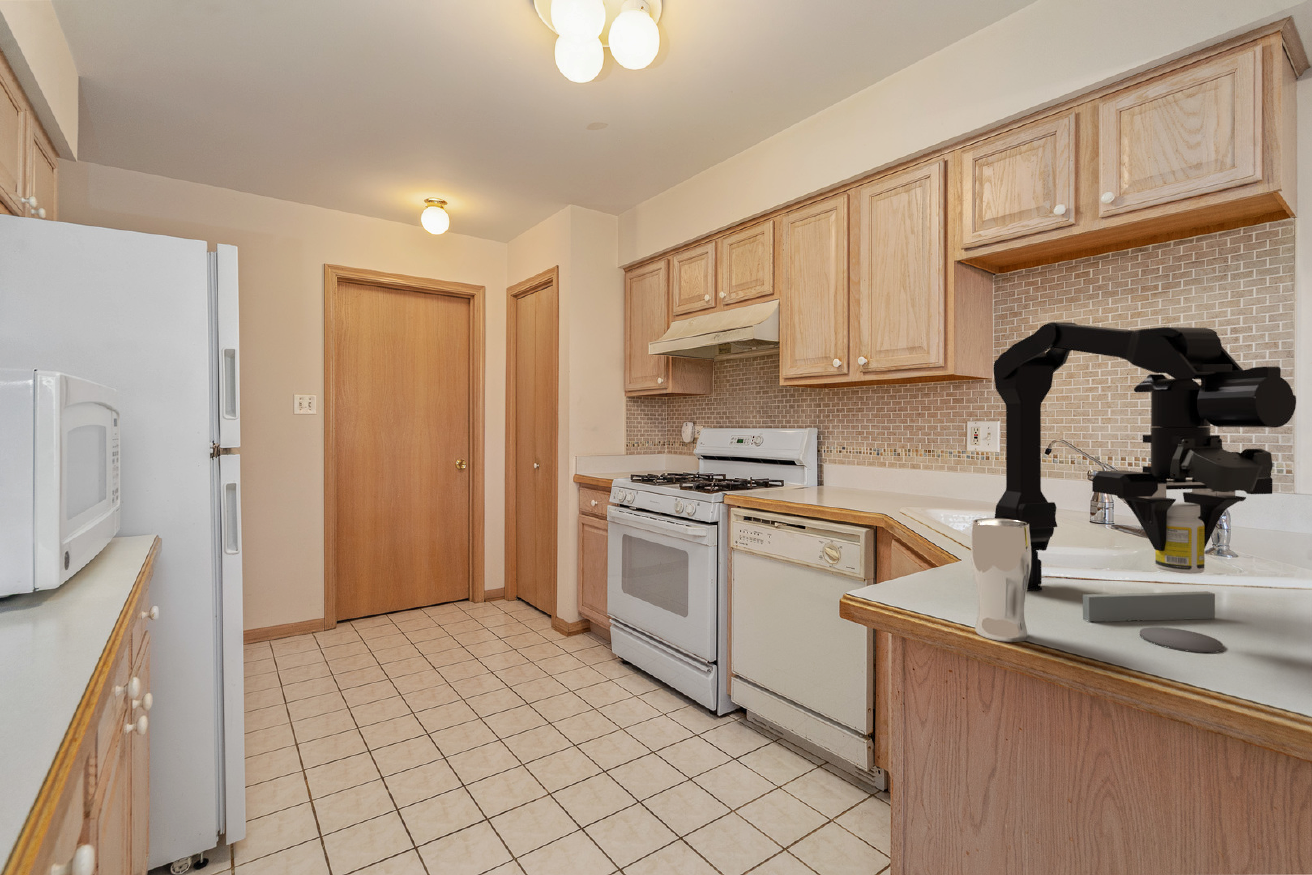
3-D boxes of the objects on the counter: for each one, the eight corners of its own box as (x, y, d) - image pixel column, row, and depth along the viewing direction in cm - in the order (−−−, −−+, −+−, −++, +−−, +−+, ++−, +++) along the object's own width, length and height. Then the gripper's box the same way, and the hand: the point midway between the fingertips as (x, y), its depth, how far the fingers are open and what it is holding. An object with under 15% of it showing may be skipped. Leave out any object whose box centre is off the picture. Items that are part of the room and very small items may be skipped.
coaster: (1162, 650, 74) (1162, 647, 74) (1127, 628, 82) (1127, 625, 82) (1239, 654, 73) (1239, 651, 73) (1196, 631, 81) (1196, 628, 81)
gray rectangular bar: (1089, 621, 85) (1089, 597, 85) (1082, 619, 86) (1082, 594, 86) (1214, 618, 86) (1214, 593, 86) (1206, 615, 87) (1206, 591, 87)
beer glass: (959, 630, 83) (959, 520, 83) (995, 622, 86) (994, 516, 85) (1007, 647, 77) (1006, 528, 76) (1044, 638, 79) (1043, 523, 79)
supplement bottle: (1185, 565, 80) (1185, 501, 79) (1214, 574, 75) (1215, 506, 75) (1145, 565, 80) (1146, 501, 80) (1172, 574, 75) (1172, 506, 75)
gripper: (1161, 429, 69) (1161, 567, 69) (1323, 426, 69) (1321, 563, 70) (1089, 428, 80) (1089, 546, 80) (1228, 425, 80) (1227, 543, 81)
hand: (1179, 550), depth 77 cm, fingers closed on supplement bottle, 5 cm apart
